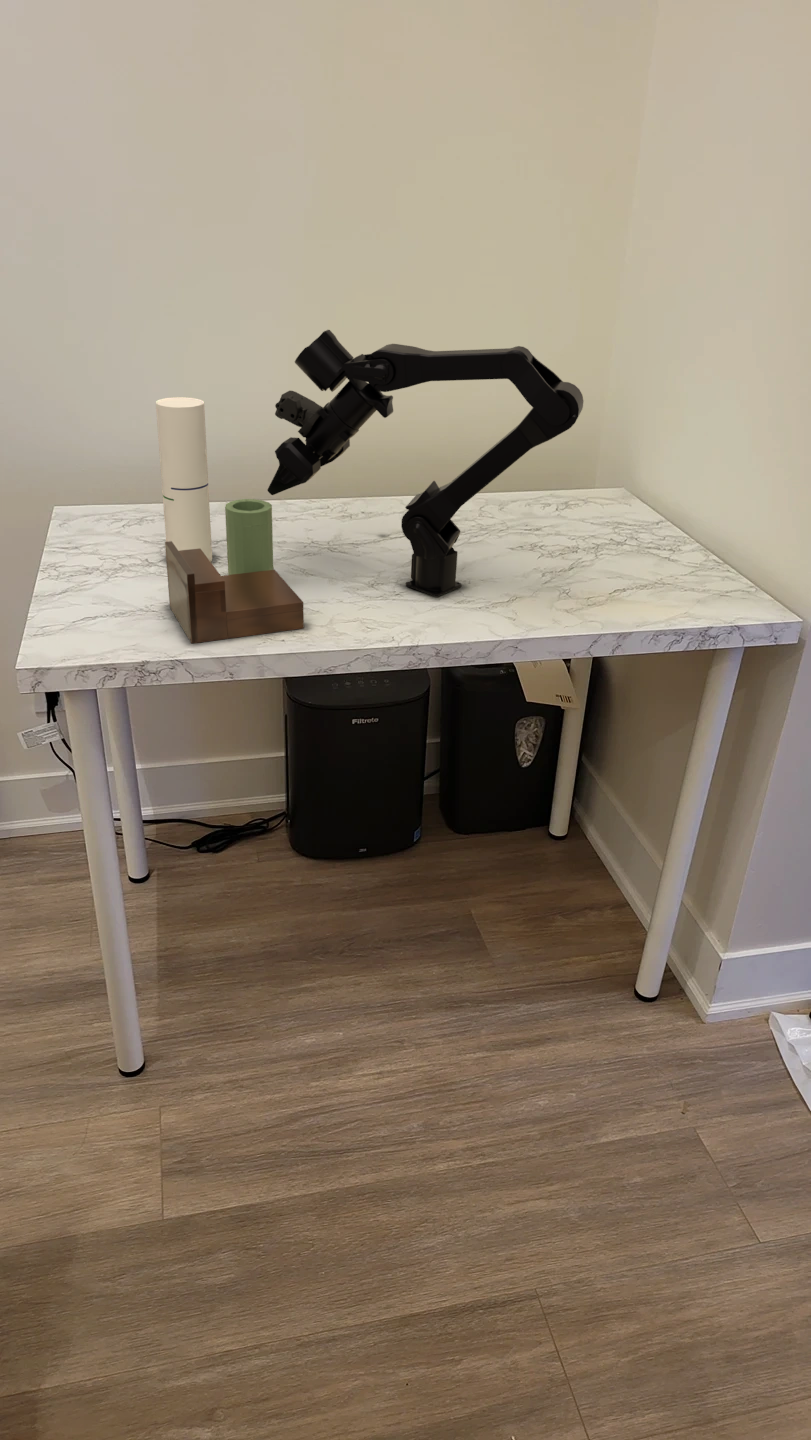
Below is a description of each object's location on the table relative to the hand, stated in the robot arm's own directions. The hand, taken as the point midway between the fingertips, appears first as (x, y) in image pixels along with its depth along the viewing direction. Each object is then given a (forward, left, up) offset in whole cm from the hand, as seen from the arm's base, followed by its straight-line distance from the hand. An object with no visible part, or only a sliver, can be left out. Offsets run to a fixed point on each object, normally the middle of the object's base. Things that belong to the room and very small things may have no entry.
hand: (280, 484), depth 160 cm
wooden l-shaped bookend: (-11, +19, -13) cm, 25 cm away
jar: (-2, +9, -14) cm, 16 cm away
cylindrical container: (+13, +9, -14) cm, 20 cm away
